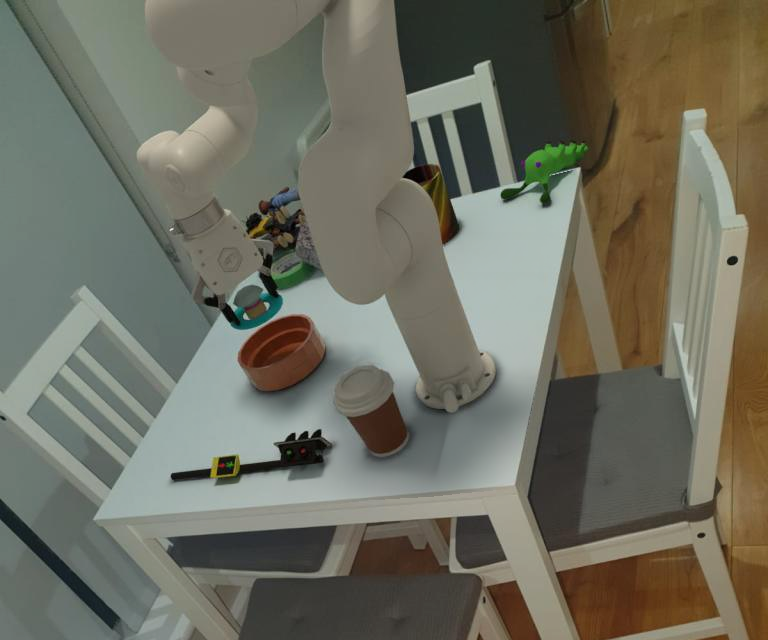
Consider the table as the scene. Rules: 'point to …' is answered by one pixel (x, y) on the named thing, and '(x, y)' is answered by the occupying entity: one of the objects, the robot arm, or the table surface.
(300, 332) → the bowl
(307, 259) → the stone
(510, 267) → the table surface
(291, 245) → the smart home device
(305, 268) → the tape roll
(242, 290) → the ornament
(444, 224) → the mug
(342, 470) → the table surface
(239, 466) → the miniature traffic light
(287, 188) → the doll family
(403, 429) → the cocoa
